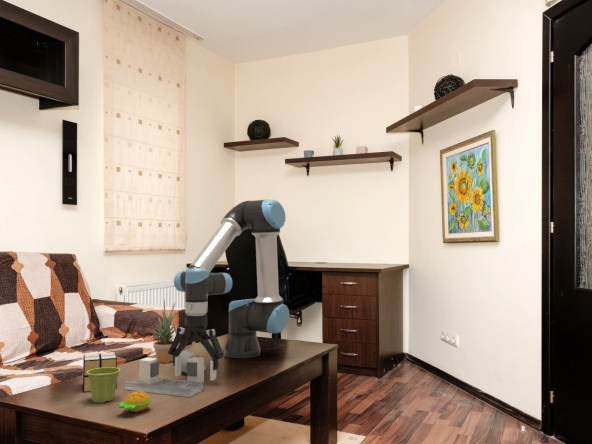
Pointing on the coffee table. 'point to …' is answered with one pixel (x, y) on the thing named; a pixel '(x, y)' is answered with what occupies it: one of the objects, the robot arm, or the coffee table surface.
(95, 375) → the plant pot
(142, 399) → the yellow green oval
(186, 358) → the ceramic mug
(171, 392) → the rail
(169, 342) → the potted plant
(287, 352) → the coffee table surface
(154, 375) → the block
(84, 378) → the puzzle cube
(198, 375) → the beige jaw block
